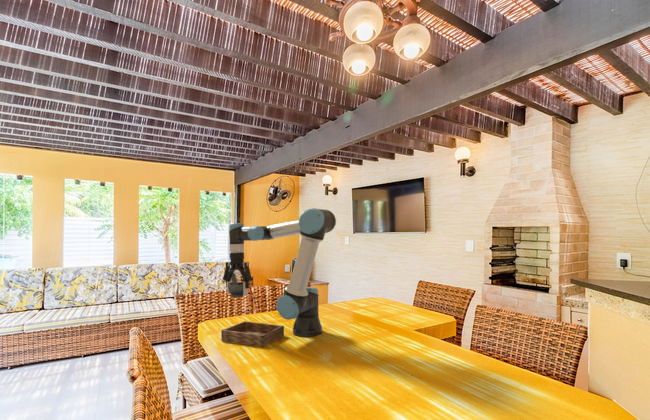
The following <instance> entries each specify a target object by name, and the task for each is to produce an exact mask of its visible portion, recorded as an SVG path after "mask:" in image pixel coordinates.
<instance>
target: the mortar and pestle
mask: <svg viewBox="0 0 650 420" xmlns="http://www.w3.org/2000/svg"><path fill="white" fill-rule="evenodd" d="M231 281H232V283H229V284H228V290H229V292H230V293H231V294H230V295H231V298H233V299H237V298H238V299H239V298H243V297H244V292H243V282H244V281H243V282H242V281H240V282H239V281H238V280H237V276H236V273H235V272H234V273H233V274H232V276H231Z"/></svg>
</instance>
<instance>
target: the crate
mask: <svg viewBox="0 0 650 420" xmlns="http://www.w3.org/2000/svg"><path fill="white" fill-rule="evenodd" d="M220 336H221V339H220V340H221V342H226V343H233V344H239V345H246V346H253V347H259V348H264V347H266V346H268V345H270V344H272V343H273V342H276V341H277V340H279V339H282V338H283V337H284V336H285V326H284V325H280V324H279V325H278V324H270V323H263V322H254V321H242V322H240V323H236V324H234V325H231V326H229V327H226V328H223V329H222V330H221V335H220ZM275 340H276V341H275Z"/></svg>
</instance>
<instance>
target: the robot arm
mask: <svg viewBox="0 0 650 420" xmlns="http://www.w3.org/2000/svg"><path fill="white" fill-rule="evenodd" d="M336 224H337V218H336V216H335V214H334V213H333V212H332V211H331V210H330V209H329V210H328V209H323V208H316V207H315V208H314V207H313V208H307V209H305V210H304V211H303V212H302V213H301V214H300V216H299V218H298V219H296V220H290V221H286V222H281V223H275V224H269V225H266V226H265V225H264V226H262V225H261V226H259V225H250V226H245V225H244V223H243V222H238V223H237V222H236V223H235V222H234V223H230V224H229V227H228V228H229V231H228V233H229V252H230V253H229V260H230V261H227V262H225V268H224V273H223V277H222V280H223V281H225V283H226V284H225V287H226V294H227V295H232V294H231V293H230V292H229V290H228V284H229V283H232V279H231V276H232V274H233V273H235V271H236V270H237V271H238V272H239V274H240V275H241V277H242V280H243V292H244V293H243V296H247V295H249V288H250V282H251V281H252V280H253V278H252V273H251V269H250V266H249V265H250V262H249V261H244V260H245V242H249V241H250V242H251V241H253V242H257V241H269V240H270V241H271V240H274V239H280V238H284V237H285V238H286V237H291V236H296V235H300V236H301V240H300V244H299V248H298V251H297V254H296V258H295V262H294V265H293V269H292V274H291V276H290V280H289V284H288V285H286V286H285V287H284V290H283V293H282V295H281V296H280V297H278V299H277V300H276V304H275V306H276V311H277V312H278V314H279V316H281V317H282V318H283V319H284V320H294V319H295V320H294V323H293V326H292V335H295V336H298V337H314V336H319V335H321V334H322V333H323V326H322V324H321V319H320V318H319V317H320V316H319V313H320V311H319V296H320V295H319V290H318V288H317V287H314V286H313V287H311V286H309V287H308V284H309V282H310V281H309V280H310V277H311V273H312V271H313V267H314V263H315V259H316V255H317V253H318V249H319V245H320V243H321V242H322V241H323V240H324V239H325V235H326V234H327V233H330V232H332V231H333V230H334V229H335V227H336Z"/></svg>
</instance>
